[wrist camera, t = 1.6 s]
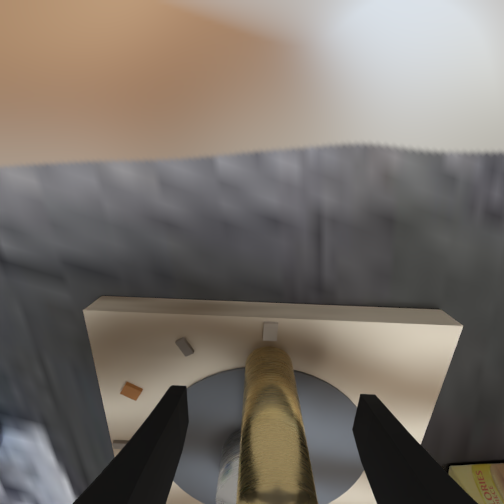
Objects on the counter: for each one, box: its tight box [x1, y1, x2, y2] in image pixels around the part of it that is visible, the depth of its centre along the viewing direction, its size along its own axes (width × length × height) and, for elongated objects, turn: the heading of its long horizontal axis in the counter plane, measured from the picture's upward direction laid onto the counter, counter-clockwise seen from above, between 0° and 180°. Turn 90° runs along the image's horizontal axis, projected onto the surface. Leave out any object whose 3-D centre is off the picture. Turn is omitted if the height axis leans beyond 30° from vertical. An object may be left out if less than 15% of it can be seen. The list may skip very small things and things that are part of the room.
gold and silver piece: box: [216, 346, 318, 504], centre depth 11 cm, size 11×5×6 cm, turn 178°
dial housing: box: [83, 296, 463, 504], centre depth 15 cm, size 19×19×2 cm
